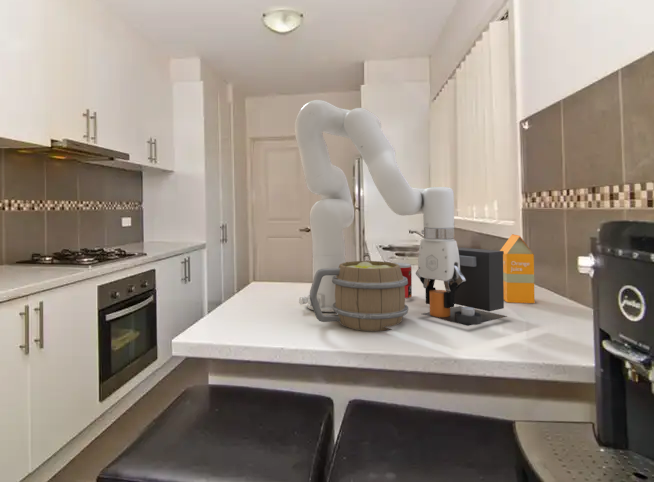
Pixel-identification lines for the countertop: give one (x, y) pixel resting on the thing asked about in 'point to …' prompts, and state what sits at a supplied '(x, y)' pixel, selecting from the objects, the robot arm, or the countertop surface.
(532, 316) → the countertop surface
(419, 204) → the robot arm
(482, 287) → the coffee maker
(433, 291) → the container
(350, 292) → the mug
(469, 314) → the button
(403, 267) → the canned food
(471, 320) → the base
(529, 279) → the orange juice
